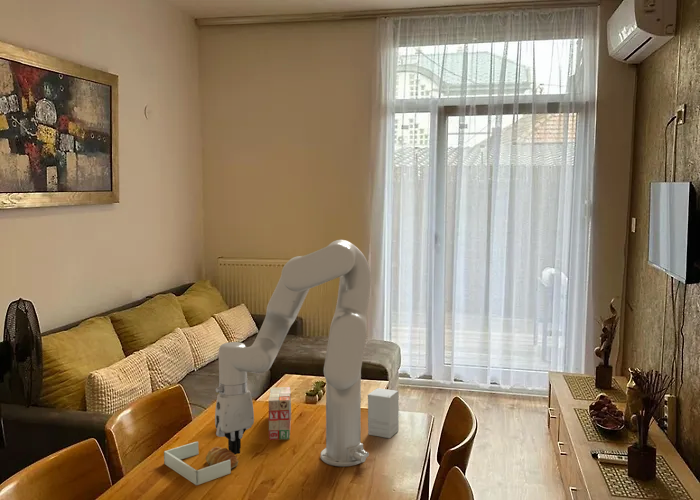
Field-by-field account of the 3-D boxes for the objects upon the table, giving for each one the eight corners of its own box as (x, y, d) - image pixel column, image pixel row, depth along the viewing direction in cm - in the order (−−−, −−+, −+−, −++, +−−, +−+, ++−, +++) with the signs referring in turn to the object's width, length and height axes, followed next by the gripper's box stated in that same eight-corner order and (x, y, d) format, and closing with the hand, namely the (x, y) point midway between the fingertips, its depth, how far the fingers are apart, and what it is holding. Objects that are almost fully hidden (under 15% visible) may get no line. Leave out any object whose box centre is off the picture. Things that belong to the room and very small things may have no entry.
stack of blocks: (272, 415, 208) (271, 378, 206) (291, 414, 208) (290, 378, 207) (268, 440, 186) (268, 399, 185) (290, 439, 187) (289, 399, 186)
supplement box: (399, 430, 193) (399, 390, 192) (389, 439, 187) (389, 397, 186) (377, 426, 197) (377, 387, 196) (367, 434, 190) (367, 393, 189)
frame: (230, 473, 164) (230, 460, 164) (196, 485, 157) (196, 471, 157) (197, 453, 177) (197, 441, 176) (164, 463, 170) (163, 451, 170)
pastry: (245, 465, 170) (244, 451, 169) (225, 474, 164) (224, 460, 164) (222, 456, 176) (222, 442, 175) (202, 464, 170) (202, 450, 170)
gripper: (216, 397, 165) (218, 464, 167) (263, 385, 175) (264, 449, 177) (202, 390, 171) (203, 456, 172) (248, 379, 181) (249, 441, 182)
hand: (234, 452), depth 174 cm, fingers closed
